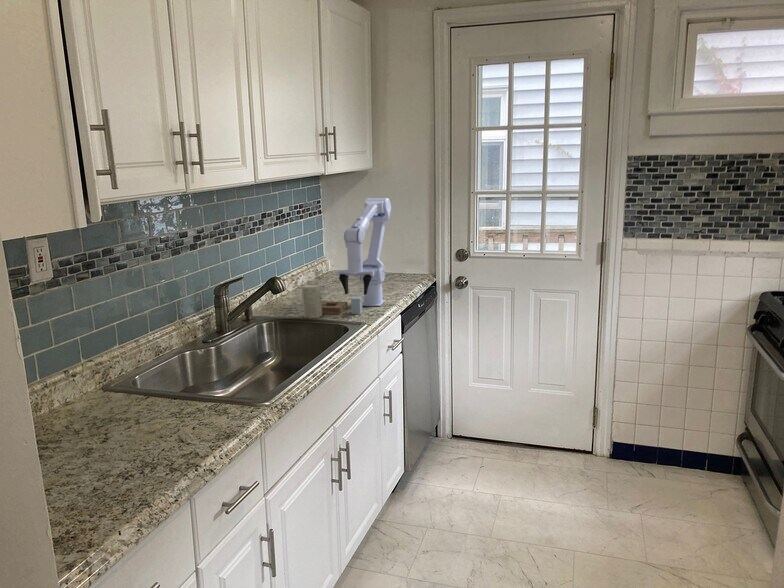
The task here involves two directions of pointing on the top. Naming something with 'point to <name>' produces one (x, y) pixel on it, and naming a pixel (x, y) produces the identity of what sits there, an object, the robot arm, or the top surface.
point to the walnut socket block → (333, 307)
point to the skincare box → (311, 301)
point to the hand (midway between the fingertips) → (356, 293)
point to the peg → (356, 305)
